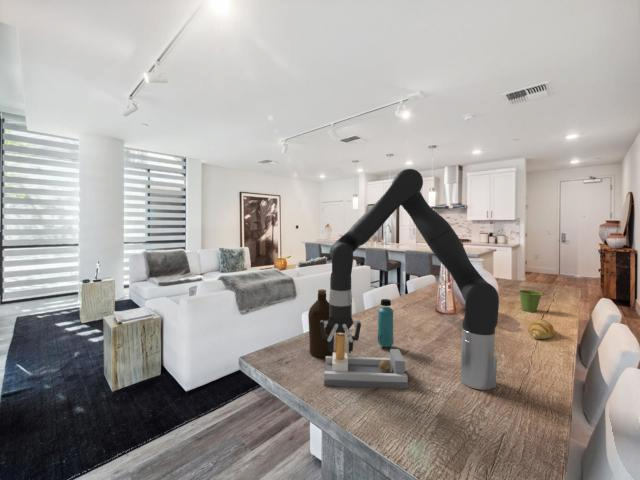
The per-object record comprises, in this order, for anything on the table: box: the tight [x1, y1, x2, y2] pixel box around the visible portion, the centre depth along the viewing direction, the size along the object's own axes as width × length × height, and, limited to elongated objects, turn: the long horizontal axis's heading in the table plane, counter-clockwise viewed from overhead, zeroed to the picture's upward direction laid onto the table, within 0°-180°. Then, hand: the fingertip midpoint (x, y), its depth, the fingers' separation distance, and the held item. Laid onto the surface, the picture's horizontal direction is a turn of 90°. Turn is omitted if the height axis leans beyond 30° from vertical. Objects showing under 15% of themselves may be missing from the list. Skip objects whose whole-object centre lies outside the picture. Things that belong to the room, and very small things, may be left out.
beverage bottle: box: [377, 298, 395, 348], centre depth 123 cm, size 6×7×20 cm
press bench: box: [323, 348, 409, 389], centre depth 100 cm, size 26×14×8 cm, turn 87°
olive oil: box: [307, 288, 335, 358], centre depth 117 cm, size 11×11×25 cm
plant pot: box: [518, 289, 543, 313], centre depth 177 cm, size 12×12×11 cm
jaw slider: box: [332, 332, 348, 372], centre depth 100 cm, size 5×9×12 cm, turn 177°
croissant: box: [526, 319, 555, 340], centre depth 139 cm, size 21×10×8 cm, turn 135°
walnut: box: [379, 360, 391, 373], centre depth 99 cm, size 4×4×4 cm
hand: (340, 351), depth 100 cm, fingers open, 5 cm apart
